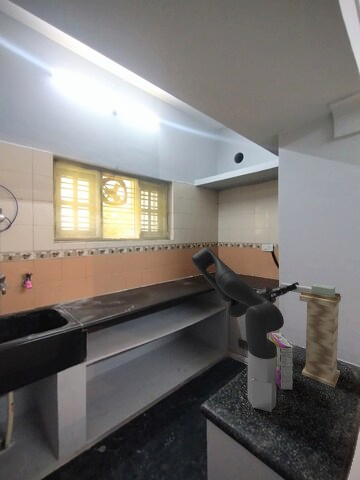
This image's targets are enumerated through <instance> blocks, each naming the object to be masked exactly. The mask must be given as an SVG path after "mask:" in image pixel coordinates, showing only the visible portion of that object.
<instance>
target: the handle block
mask: <svg viewBox="0 0 360 480" xmlns="http://www.w3.org/2000/svg"><path fill="white" fill-rule="evenodd" d="M292 284H293V283H288V282H281V283H279V287H281V288H283V287H287V286H289V285H292ZM296 286H297V289H295V290H292V291H291V292H292V293H299V294H301V291H303V292H308V293H314V294H320V295H325V296H331V297H335V293H336V286H333V285H327V284H319V283H314V284H312V285H311V286H307V285H300V284H299V285H296Z"/></svg>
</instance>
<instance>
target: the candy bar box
mask: <svg viewBox="0 0 360 480" xmlns="http://www.w3.org/2000/svg"><path fill="white" fill-rule="evenodd" d="M268 334H269V335H268V337H269V338H268V339H269V340H271V341H272V342H274V343H275V345H276V347H277V372H276V386H278V388H279V390H283V391H284V390H285V391H286V390H291V391H292V390H293V389H294V387H293V386H294V346H293V345H292V343H291V342H289V340H288V339H287V338H286V337H285V336H284V335H283V334H282V332H269V333H268Z"/></svg>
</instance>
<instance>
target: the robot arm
mask: <svg viewBox="0 0 360 480" xmlns="http://www.w3.org/2000/svg"><path fill="white" fill-rule="evenodd" d="M191 260H192V263H193V265H194V267H196V268H197V270H198V271H199V272H200V274H201V275H203V277H204V278H205V279H206V281H208V283H209V284H210V285H211V286H212V287H213V288H214V289H215V291H216V292H217V294H218V295H219V296H220V299H221V300H222V301H223V302H225V303H229V305H228V308H227V314H228V315H229V316H230V317H232V318H241V317H243V316H244V315H245V317H244V320H245V321H244V322H245V323H244V325H245V340H246V343H247V399H248V402H249V403H250V405H251V408H254V409H258V410H261V411H265V412H269V413H272V412H273V409H275V407H276V406H277V383H276V372H277V347H276V345H275V343H274V342H272V341H271V340H269V338H268V336H267V335H268V334H269V333H274V332H276V331H279V330H280V329H282V327H284V324H285V322H284V321H285V319H284V315H283V313H282V312H281V310H280V309H279V308H278V306H276V305H275V303H276V301H277V298H280V297H282V296H284V295H286V294H289V292H292V290H295V289H297V286H296V285H300V284H299V282H294V283H291V284H292V285H289V286H287V287H283V288H281V287H280V286H279V287H275V288H271V287H269V286H266V287H263V288H262V289H258V290H255V289H254V288H253V287H252V286H251V285H249V283H247V282H246V281H245V280H243V278H242V277H241V276H240V275H239V274H237V273H236V272H235V271H234V270H233V269H232V268H231V267H229V266H228V265H227V264H226V263H225V262H224V261H222V259H221V258H220V257H219V256H218V255H217V254H216V253H215V252H214V251H213V250H212V249H211V248H210V247H207V246H206V247H203V248H201V249H199V251H198V252H196V253H194V255H192V256H191ZM213 265H214V267H215V274H214V275H213V274H211V273H210V272H209V271H208V270H207V269H209V268H210V267H211V266H213Z"/></svg>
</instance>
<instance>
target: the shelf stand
mask: <svg viewBox="0 0 360 480" xmlns="http://www.w3.org/2000/svg"><path fill="white" fill-rule="evenodd" d="M341 300H342V296H341V293H339V292H335V297H331V296H325V295H320V294H314V293H308V292H303V291H301V293H300V295H299V300H298V301H300V302H306V329H305V333H306V335H305V340H306V341H305V366H304V367H303V369H302V371H301V375H303V376H305V377H308V378H310V379H312V380H315V381H317V382H319V383H322V384H324V385H327V386H329V387H331V388H334V389H335V388H336V386H337V382H338V380H339V377H340V375H341V371H340V370H339V369H338V367H337V365H338V342H339V340H338V339H339V338H338V337H339V335H338V334H339V333H338V332H339V310H340V309H339V308H340V307H339V306H340V304H339V303H340V302H341Z"/></svg>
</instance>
